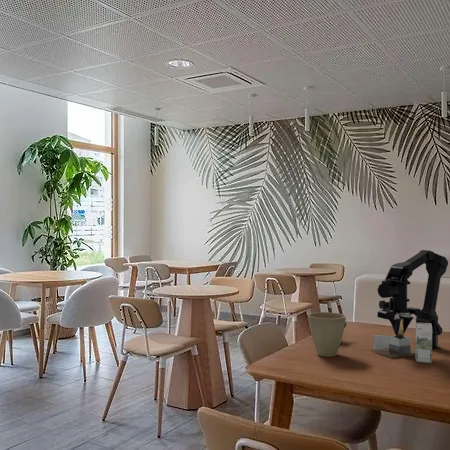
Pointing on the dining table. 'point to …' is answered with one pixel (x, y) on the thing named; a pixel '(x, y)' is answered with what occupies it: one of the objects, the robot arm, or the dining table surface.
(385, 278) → the robot arm
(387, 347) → the hinge
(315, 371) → the dining table surface
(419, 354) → the syrup box
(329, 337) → the plant pot
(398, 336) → the hinge pin
